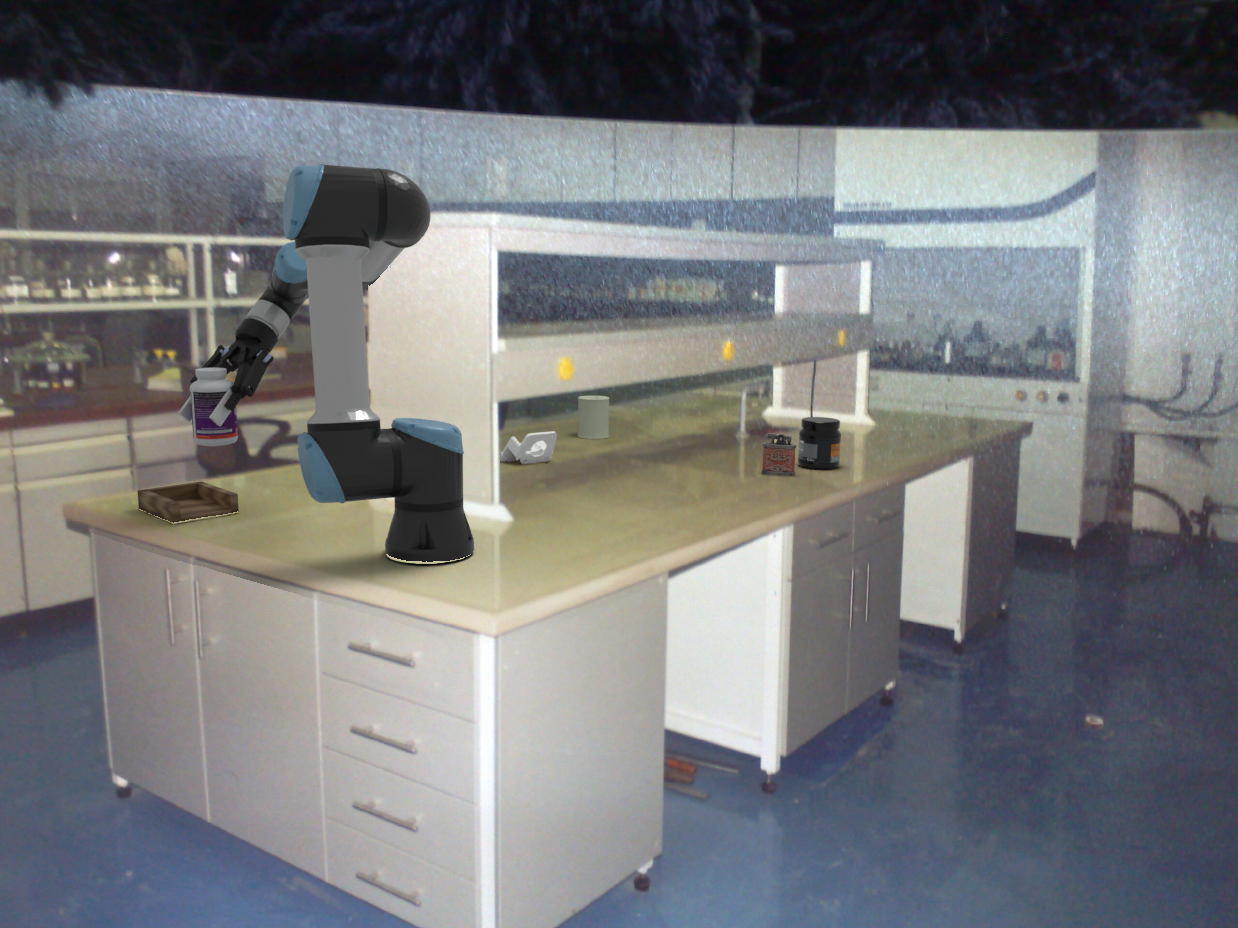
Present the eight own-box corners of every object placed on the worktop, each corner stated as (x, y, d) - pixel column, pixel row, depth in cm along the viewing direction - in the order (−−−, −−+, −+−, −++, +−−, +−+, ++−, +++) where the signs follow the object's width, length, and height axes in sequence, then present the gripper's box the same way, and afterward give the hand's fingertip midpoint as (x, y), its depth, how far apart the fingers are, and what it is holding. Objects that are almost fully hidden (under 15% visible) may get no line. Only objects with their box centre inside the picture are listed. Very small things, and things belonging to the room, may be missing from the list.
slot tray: (238, 513, 206) (237, 493, 205) (173, 524, 197) (171, 503, 196) (202, 500, 217) (201, 481, 216) (138, 510, 208) (137, 490, 207)
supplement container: (846, 466, 265) (849, 419, 262) (826, 472, 257) (829, 424, 254) (810, 460, 271) (812, 415, 269) (789, 466, 263) (791, 419, 261)
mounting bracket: (507, 472, 260) (516, 436, 255) (496, 459, 264) (504, 423, 259) (549, 468, 267) (558, 432, 261) (537, 454, 271) (546, 419, 265)
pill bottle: (245, 444, 201) (241, 369, 198) (205, 449, 195) (200, 372, 192) (225, 438, 206) (221, 365, 203) (185, 443, 200) (180, 368, 197)
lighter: (795, 474, 254) (797, 433, 252) (794, 476, 251) (796, 435, 249) (762, 471, 256) (764, 431, 254) (760, 474, 253) (762, 433, 251)
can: (585, 440, 297) (586, 398, 295) (572, 435, 306) (572, 394, 303) (614, 438, 302) (615, 397, 299) (600, 433, 310) (600, 393, 307)
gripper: (310, 344, 205) (249, 437, 194) (237, 338, 215) (175, 426, 204) (288, 318, 199) (224, 412, 189) (214, 313, 209) (149, 402, 199)
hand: (199, 419), depth 196 cm, fingers closed on pill bottle, 8 cm apart
